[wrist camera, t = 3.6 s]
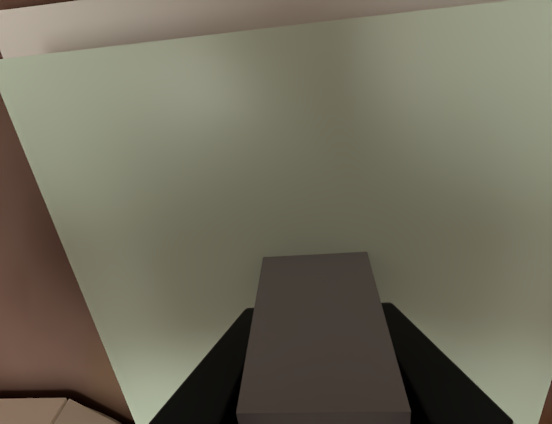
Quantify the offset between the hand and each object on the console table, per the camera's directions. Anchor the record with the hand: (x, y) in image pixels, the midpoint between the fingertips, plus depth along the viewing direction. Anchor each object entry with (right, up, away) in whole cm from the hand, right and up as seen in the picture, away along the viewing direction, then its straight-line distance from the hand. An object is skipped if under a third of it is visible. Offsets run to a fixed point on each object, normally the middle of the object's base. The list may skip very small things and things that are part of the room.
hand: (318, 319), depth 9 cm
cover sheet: (0, +1, +1) cm, 2 cm away
